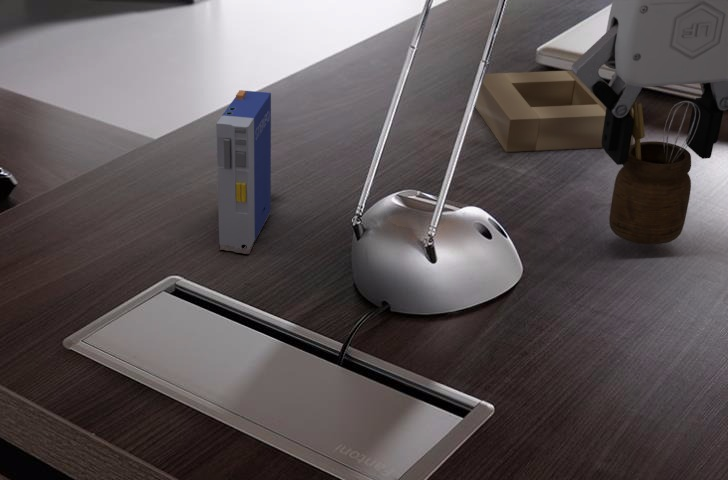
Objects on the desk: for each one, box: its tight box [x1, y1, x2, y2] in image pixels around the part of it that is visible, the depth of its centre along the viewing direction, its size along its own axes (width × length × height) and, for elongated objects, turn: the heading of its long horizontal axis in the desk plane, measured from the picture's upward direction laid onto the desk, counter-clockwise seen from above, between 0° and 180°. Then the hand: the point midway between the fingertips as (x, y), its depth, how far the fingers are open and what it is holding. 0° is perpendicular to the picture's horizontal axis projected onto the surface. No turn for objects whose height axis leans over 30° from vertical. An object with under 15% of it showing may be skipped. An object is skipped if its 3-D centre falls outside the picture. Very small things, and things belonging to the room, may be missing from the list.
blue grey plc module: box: [215, 89, 272, 250], centre depth 93 cm, size 8×3×12 cm, turn 164°
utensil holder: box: [609, 100, 700, 246], centre depth 88 cm, size 6×6×12 cm
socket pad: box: [474, 70, 634, 153], centre depth 114 cm, size 13×13×4 cm
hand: (656, 153), depth 87 cm, fingers closed on utensil holder, 6 cm apart
